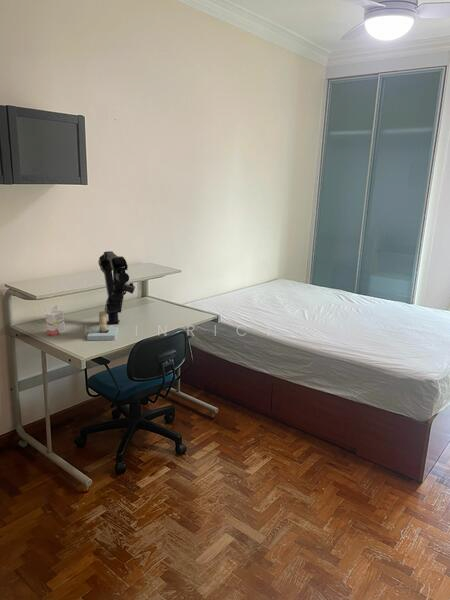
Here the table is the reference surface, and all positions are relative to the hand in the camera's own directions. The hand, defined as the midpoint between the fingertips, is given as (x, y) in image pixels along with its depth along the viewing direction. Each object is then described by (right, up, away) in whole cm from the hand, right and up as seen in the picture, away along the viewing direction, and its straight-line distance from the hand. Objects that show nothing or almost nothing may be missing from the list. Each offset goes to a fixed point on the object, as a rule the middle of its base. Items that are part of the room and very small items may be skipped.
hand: (119, 307), depth 245 cm
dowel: (-7, -15, -7) cm, 18 cm away
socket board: (-7, -15, -7) cm, 18 cm away
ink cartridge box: (-34, -14, -4) cm, 37 cm away
